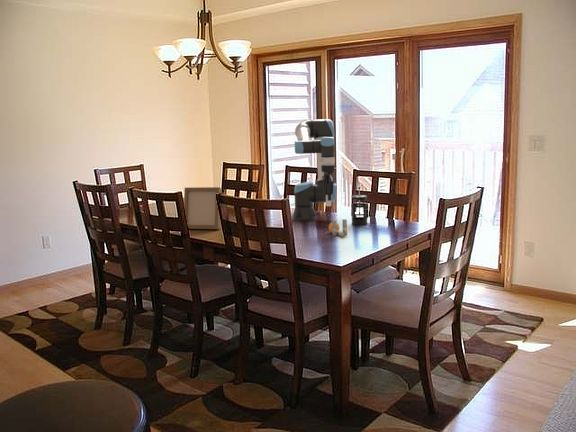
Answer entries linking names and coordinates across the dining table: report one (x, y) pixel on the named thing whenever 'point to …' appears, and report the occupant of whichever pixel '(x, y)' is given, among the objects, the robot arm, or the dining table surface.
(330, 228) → the ball
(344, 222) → the pin
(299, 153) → the robot arm
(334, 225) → the pin
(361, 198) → the french press
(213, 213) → the photo frame
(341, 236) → the pin front
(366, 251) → the dining table surface
